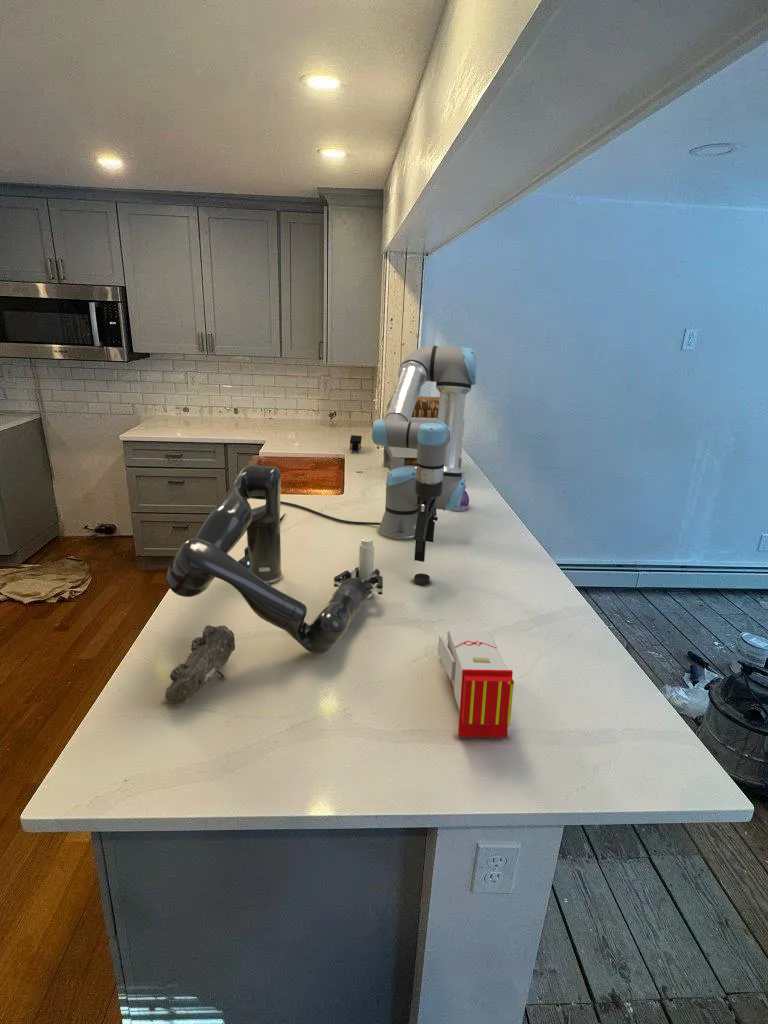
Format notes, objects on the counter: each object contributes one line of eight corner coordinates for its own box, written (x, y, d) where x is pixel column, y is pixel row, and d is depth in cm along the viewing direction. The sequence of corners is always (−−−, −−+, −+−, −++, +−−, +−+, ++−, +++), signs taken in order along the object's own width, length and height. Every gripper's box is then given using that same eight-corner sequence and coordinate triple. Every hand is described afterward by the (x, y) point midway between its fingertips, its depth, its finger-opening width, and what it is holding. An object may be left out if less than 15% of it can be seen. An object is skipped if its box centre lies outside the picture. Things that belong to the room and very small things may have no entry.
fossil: (189, 627, 129) (235, 597, 124) (218, 656, 132) (264, 627, 127) (143, 698, 109) (196, 665, 104) (179, 729, 112) (232, 699, 107)
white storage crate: (382, 463, 289) (386, 382, 275) (445, 464, 293) (451, 384, 279) (390, 482, 257) (394, 392, 243) (460, 483, 261) (468, 394, 247)
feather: (292, 507, 224) (294, 503, 223) (275, 531, 197) (278, 527, 197) (288, 505, 224) (291, 501, 223) (271, 528, 197) (273, 524, 197)
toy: (488, 613, 130) (523, 677, 101) (484, 667, 133) (517, 744, 104) (435, 612, 130) (455, 676, 101) (432, 666, 133) (451, 743, 103)
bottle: (375, 594, 157) (377, 539, 151) (366, 600, 154) (368, 543, 148) (363, 590, 159) (365, 535, 153) (354, 595, 156) (356, 539, 150)
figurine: (455, 513, 222) (459, 476, 217) (441, 505, 231) (444, 469, 226) (475, 510, 226) (479, 474, 221) (460, 502, 235) (464, 467, 230)
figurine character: (361, 456, 305) (361, 447, 319) (361, 443, 302) (362, 434, 315) (348, 456, 305) (350, 446, 318) (349, 442, 302) (350, 433, 315)
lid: (410, 581, 166) (410, 576, 165) (421, 577, 168) (422, 571, 168) (421, 587, 162) (422, 581, 162) (432, 582, 165) (433, 577, 165)
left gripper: (321, 607, 144) (344, 578, 160) (375, 616, 141) (393, 586, 156) (321, 580, 142) (344, 554, 157) (376, 590, 138) (394, 562, 154)
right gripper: (424, 466, 167) (420, 532, 175) (405, 493, 145) (401, 567, 153) (449, 469, 166) (444, 535, 173) (434, 496, 143) (428, 571, 151)
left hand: (368, 570), depth 157 cm, fingers open, 4 cm apart
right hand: (424, 550), depth 163 cm, fingers open, 13 cm apart
